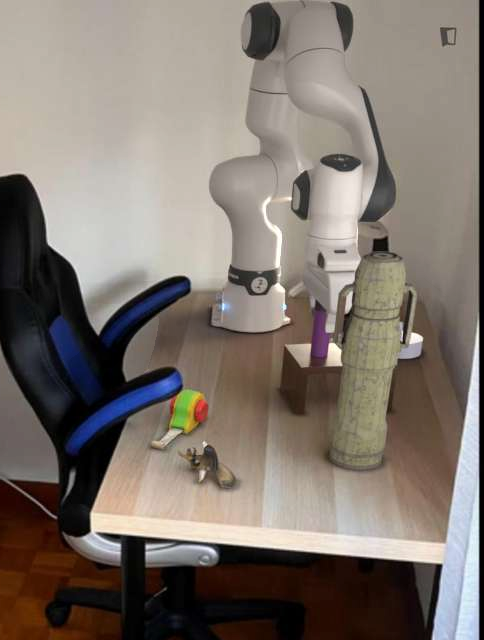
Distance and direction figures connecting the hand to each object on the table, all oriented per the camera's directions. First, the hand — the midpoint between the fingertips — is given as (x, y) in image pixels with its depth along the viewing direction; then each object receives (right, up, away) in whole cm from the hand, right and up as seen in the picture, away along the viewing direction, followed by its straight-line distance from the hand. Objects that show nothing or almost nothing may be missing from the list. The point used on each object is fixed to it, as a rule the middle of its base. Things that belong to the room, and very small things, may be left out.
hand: (321, 323), depth 183 cm
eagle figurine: (-25, -30, -21) cm, 45 cm away
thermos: (+1, -26, -16) cm, 31 cm away
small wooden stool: (+4, -14, +7) cm, 16 cm away
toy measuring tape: (-27, -21, -3) cm, 34 cm away
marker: (0, -6, +3) cm, 6 cm away
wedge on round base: (+24, -1, +31) cm, 40 cm away
